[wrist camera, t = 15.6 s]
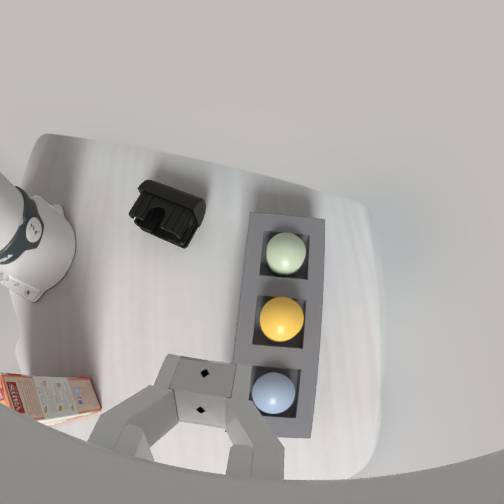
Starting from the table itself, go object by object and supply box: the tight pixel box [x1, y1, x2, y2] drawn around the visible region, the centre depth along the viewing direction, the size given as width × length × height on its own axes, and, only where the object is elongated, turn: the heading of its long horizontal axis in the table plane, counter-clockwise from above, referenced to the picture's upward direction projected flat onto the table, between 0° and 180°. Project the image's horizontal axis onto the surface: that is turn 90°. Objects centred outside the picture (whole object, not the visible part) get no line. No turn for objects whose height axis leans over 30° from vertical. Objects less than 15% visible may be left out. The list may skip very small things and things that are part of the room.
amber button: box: [260, 297, 304, 342], centre depth 36 cm, size 5×5×4 cm
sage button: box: [266, 233, 306, 278], centre depth 41 cm, size 5×5×4 cm
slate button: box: [252, 372, 295, 414], centre depth 35 cm, size 5×5×4 cm
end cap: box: [129, 180, 206, 248], centre depth 48 cm, size 10×7×7 cm
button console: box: [225, 212, 325, 438], centre depth 41 cm, size 10×28×8 cm, turn 174°
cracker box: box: [0, 373, 101, 426], centre depth 30 cm, size 14×6×21 cm, turn 114°
